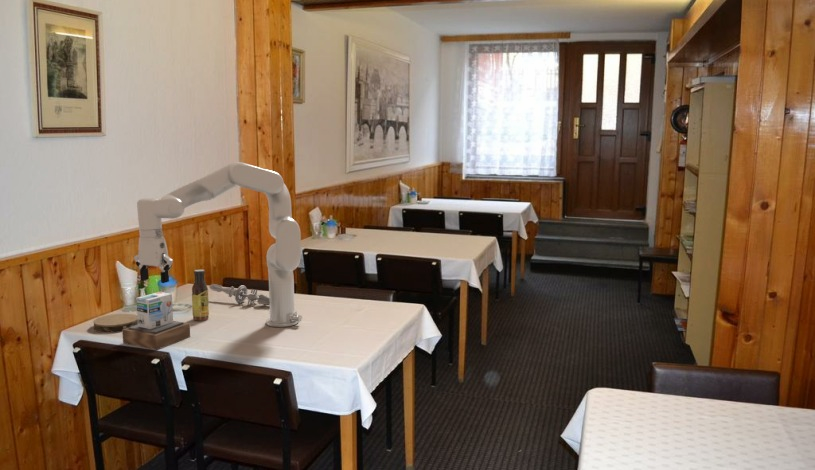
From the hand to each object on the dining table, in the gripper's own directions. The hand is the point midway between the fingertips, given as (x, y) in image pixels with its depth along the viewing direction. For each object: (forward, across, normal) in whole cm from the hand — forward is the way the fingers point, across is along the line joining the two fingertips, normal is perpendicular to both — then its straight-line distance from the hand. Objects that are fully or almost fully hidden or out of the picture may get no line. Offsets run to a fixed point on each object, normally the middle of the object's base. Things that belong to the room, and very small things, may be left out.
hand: (154, 281), depth 237 cm
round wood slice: (+22, +28, -5) cm, 36 cm away
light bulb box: (+16, +1, 0) cm, 16 cm away
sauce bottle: (+22, +4, -26) cm, 35 cm away
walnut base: (+22, 0, +1) cm, 22 cm away
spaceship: (+23, +6, -53) cm, 58 cm away
